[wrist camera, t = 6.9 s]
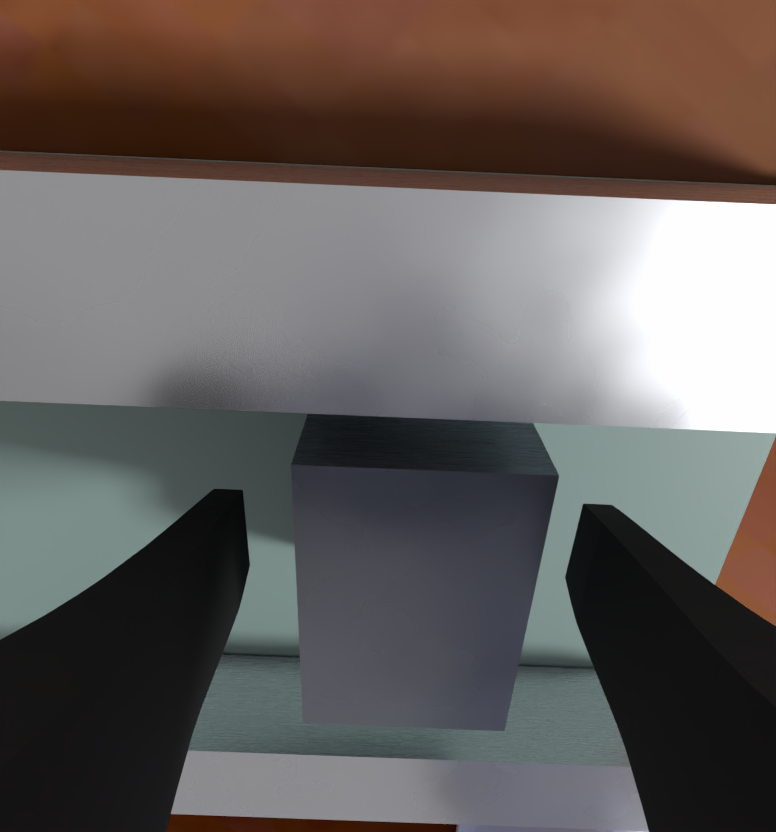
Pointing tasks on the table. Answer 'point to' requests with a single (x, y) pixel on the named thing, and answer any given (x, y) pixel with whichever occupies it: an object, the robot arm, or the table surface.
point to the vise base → (367, 354)
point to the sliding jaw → (409, 758)
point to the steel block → (416, 566)
